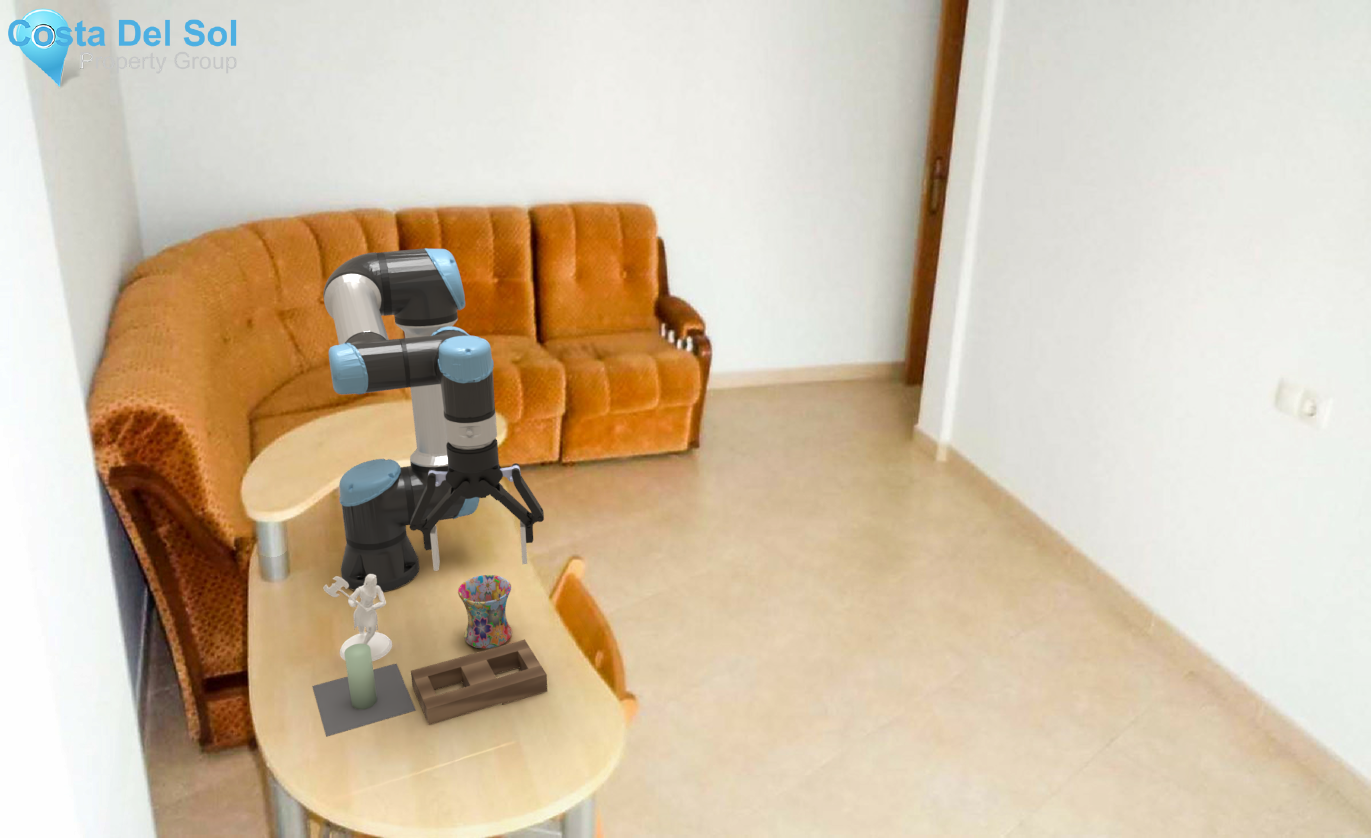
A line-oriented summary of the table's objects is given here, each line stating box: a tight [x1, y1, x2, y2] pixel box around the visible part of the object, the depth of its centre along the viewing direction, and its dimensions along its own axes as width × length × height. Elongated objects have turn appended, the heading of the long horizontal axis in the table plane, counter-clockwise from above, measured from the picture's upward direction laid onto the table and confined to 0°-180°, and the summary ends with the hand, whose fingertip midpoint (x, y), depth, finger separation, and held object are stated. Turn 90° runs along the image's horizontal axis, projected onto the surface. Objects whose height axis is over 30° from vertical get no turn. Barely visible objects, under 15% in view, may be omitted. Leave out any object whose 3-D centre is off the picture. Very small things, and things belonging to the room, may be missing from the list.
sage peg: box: [344, 644, 377, 709], centre depth 161 cm, size 4×4×10 cm
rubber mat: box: [312, 662, 417, 737], centre depth 164 cm, size 14×14×1 cm
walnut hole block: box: [410, 639, 548, 726], centre depth 166 cm, size 11×20×4 cm, turn 118°
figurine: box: [323, 574, 393, 662], centre depth 174 cm, size 10×10×18 cm
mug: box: [457, 574, 513, 650], centre depth 180 cm, size 12×9×11 cm
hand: (481, 563), depth 156 cm, fingers open, 13 cm apart
